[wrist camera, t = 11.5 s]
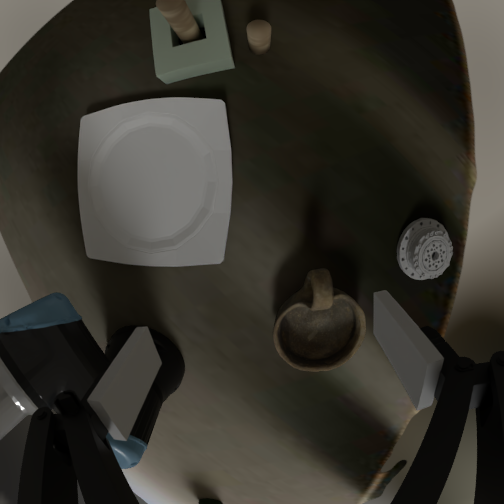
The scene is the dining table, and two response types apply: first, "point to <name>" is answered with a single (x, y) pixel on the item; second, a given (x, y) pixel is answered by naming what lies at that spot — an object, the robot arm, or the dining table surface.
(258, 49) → the short dowel
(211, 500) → the wine bottle
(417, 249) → the mechanical component
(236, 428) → the dining table surface
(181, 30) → the long dowel
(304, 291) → the brown mug
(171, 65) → the hole block
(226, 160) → the plate
